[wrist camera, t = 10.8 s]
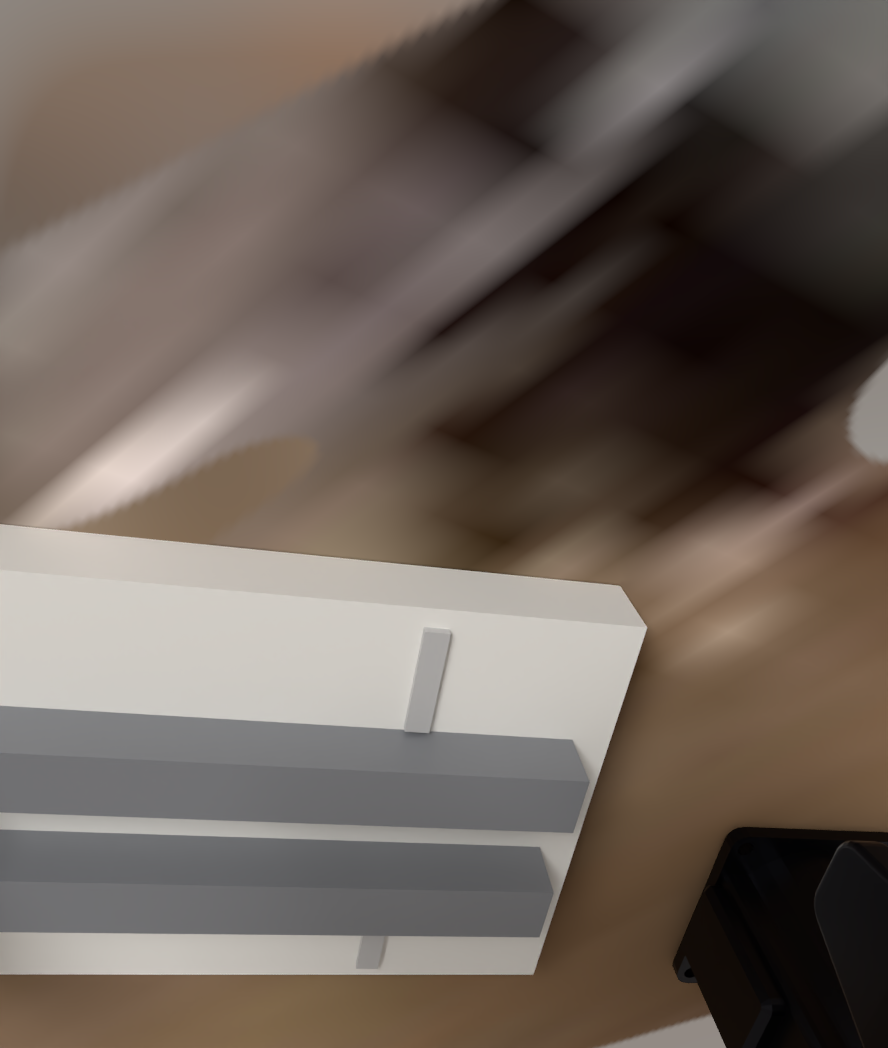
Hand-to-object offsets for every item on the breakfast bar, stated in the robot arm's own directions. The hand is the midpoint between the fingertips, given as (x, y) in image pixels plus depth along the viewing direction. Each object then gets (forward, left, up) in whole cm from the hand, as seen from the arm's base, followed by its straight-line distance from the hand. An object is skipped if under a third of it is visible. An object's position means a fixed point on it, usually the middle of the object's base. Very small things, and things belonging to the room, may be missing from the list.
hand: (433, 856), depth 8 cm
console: (+5, +9, -12) cm, 16 cm away
